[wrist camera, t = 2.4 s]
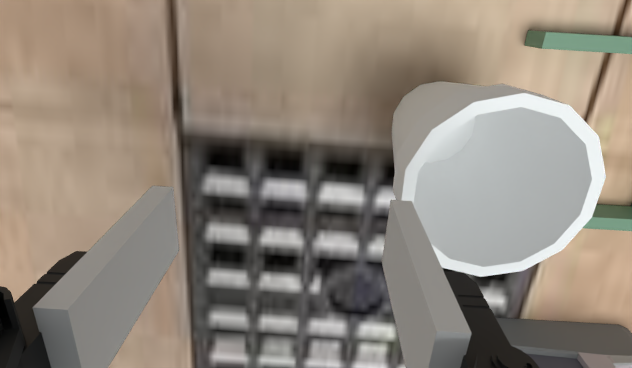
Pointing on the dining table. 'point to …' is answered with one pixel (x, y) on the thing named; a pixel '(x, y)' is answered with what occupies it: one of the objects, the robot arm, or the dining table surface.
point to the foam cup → (494, 173)
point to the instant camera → (570, 343)
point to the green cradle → (603, 214)
